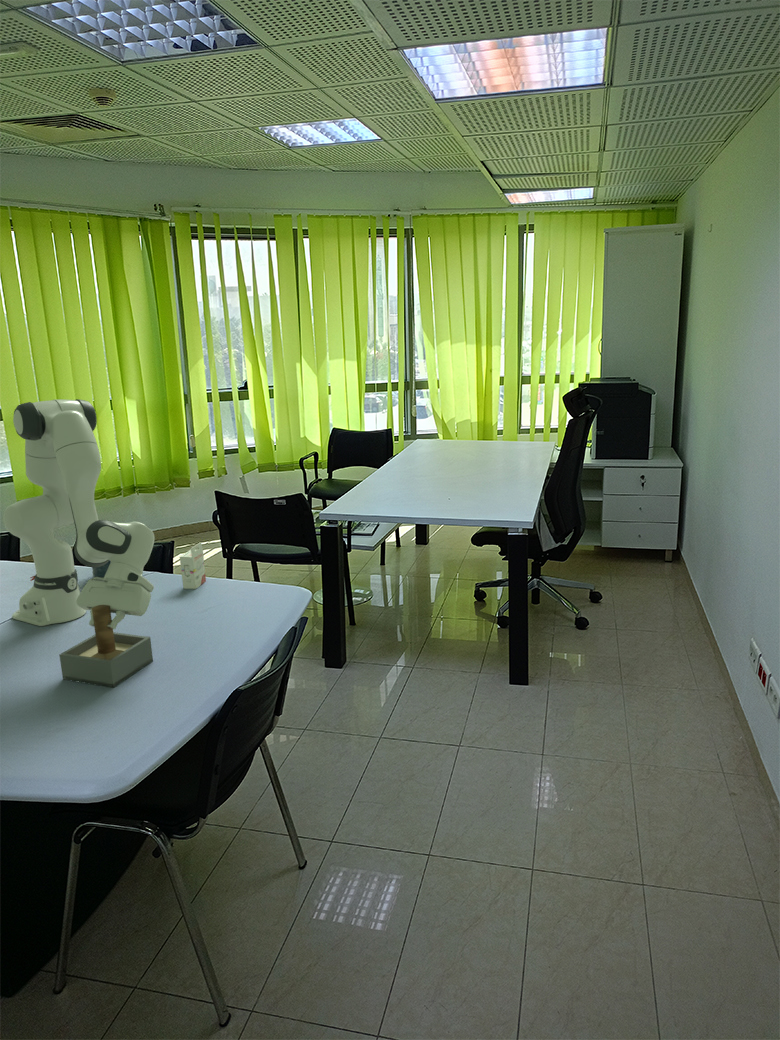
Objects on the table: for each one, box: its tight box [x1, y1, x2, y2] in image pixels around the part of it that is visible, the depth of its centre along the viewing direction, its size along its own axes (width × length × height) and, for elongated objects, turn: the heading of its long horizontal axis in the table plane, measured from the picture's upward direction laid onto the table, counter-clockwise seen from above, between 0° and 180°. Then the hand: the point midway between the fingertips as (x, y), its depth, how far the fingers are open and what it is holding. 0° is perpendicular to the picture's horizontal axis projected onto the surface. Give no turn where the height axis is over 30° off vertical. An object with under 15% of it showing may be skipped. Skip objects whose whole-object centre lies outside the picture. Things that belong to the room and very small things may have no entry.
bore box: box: [58, 631, 154, 689], centre depth 200 cm, size 16×16×7 cm
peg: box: [92, 605, 116, 654], centre depth 198 cm, size 4×4×12 cm
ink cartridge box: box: [179, 541, 207, 590], centre depth 262 cm, size 9×5×15 cm, turn 169°
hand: (101, 627), depth 197 cm, fingers closed on peg, 4 cm apart
